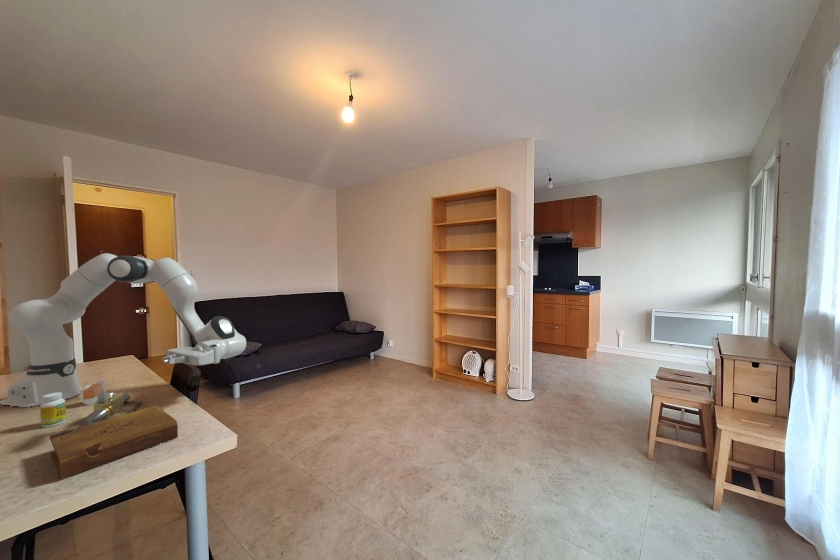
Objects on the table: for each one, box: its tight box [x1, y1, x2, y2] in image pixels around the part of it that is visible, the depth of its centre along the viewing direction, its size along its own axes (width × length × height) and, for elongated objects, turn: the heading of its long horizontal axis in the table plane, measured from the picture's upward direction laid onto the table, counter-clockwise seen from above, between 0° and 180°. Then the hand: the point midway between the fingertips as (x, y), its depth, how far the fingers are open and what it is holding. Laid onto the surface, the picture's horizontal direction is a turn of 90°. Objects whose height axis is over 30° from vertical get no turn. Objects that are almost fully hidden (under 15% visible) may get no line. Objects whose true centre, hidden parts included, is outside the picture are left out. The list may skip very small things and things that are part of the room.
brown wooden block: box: [49, 405, 179, 480], centre depth 90 cm, size 23×19×6 cm
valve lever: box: [82, 379, 115, 405], centre depth 101 cm, size 17×3×7 cm, turn 29°
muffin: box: [78, 384, 97, 406], centre depth 119 cm, size 6×6×7 cm
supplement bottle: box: [39, 392, 67, 428], centre depth 103 cm, size 5×5×10 cm
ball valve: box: [84, 392, 131, 425], centre depth 108 cm, size 20×5×6 cm, turn 20°
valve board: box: [66, 398, 145, 431], centre depth 108 cm, size 20×11×2 cm, turn 20°
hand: (166, 361), depth 115 cm, fingers closed
